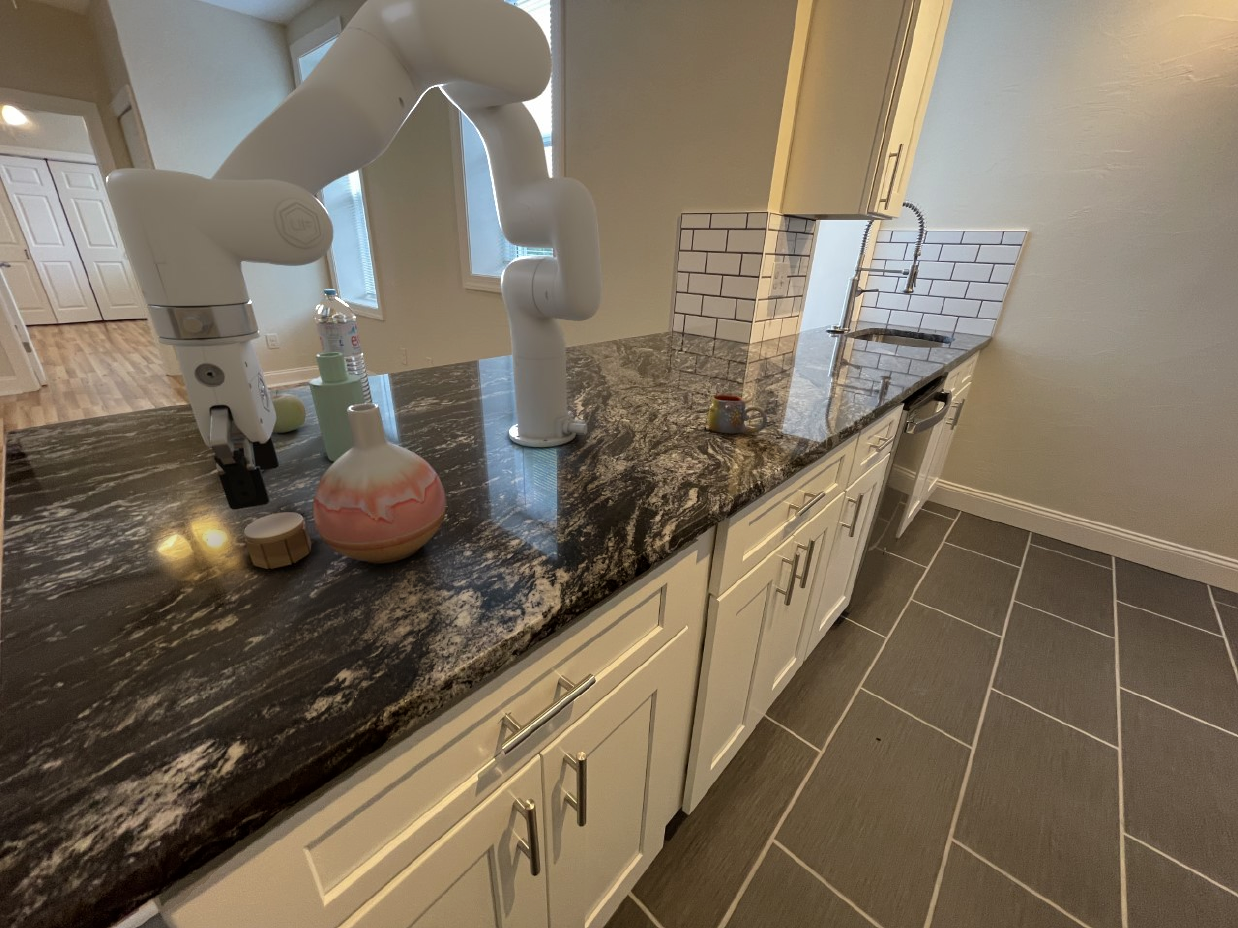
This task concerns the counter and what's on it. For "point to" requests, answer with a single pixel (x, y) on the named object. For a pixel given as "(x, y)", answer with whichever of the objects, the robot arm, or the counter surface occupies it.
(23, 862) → the counter surface
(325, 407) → the ceramic bottle
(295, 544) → the cap
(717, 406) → the mug
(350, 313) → the water bottle
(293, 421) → the fruit
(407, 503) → the vase
